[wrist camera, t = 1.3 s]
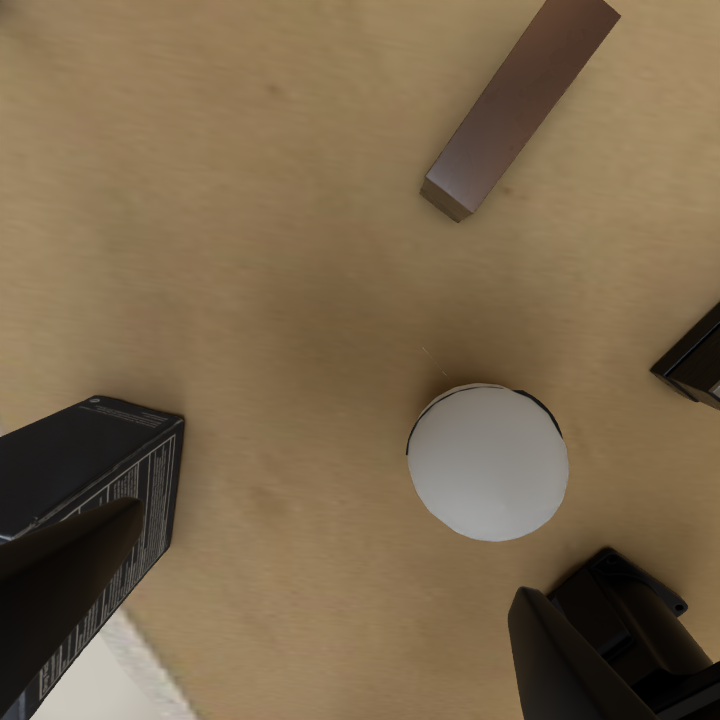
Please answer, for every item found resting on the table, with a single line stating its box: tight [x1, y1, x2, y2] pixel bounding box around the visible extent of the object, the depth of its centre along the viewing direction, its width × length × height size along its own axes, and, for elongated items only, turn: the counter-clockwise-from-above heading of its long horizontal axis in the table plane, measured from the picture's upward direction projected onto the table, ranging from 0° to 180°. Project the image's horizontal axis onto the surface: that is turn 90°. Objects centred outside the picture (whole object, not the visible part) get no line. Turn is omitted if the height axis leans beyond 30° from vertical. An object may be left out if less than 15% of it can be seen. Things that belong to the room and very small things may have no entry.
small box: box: [0, 396, 184, 720], centre depth 19 cm, size 11×6×10 cm, turn 166°
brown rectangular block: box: [420, 0, 621, 223], centre depth 15 cm, size 2×8×4 cm, turn 145°
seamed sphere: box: [406, 347, 569, 542], centre depth 17 cm, size 10×7×7 cm
